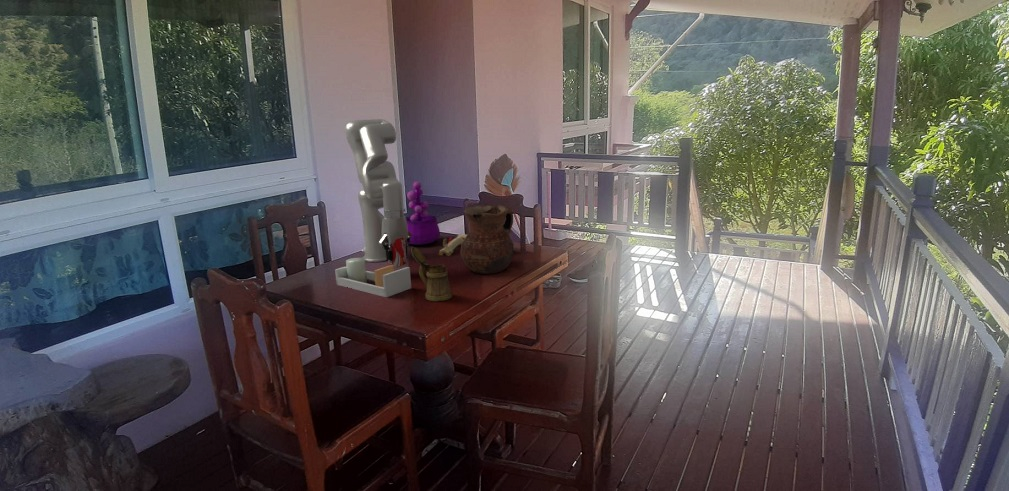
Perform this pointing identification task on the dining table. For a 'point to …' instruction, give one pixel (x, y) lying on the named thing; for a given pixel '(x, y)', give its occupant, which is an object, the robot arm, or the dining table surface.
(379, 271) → the plate
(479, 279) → the dining table surface
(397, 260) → the soda can
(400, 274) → the pusher lane
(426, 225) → the decorative plant
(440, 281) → the wooden mug
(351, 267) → the sage jar
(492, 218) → the jug
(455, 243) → the cream bone
